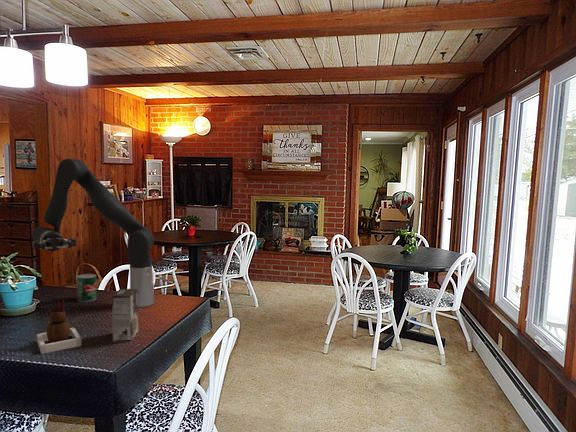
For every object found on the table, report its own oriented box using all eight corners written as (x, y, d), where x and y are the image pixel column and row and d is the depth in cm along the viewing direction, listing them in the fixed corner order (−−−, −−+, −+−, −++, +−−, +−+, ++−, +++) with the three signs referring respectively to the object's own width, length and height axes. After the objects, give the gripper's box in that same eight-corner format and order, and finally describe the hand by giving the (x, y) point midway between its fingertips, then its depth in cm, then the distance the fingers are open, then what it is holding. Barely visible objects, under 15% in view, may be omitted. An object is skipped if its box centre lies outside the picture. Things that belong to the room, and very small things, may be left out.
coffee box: (120, 331, 148) (120, 288, 146) (138, 331, 148) (138, 288, 147) (111, 341, 138) (111, 295, 137) (131, 341, 139) (130, 295, 138)
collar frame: (74, 334, 144) (74, 327, 144) (81, 345, 134) (81, 338, 134) (37, 341, 137) (36, 334, 137) (41, 354, 128) (41, 346, 127)
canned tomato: (90, 302, 182) (90, 278, 181) (73, 301, 182) (73, 277, 181) (100, 297, 189) (99, 274, 188) (83, 296, 190) (83, 273, 189)
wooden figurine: (73, 341, 138) (72, 298, 137) (59, 348, 132) (57, 303, 131) (58, 338, 140) (57, 296, 139) (43, 344, 135) (42, 300, 133)
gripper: (30, 232, 159) (34, 237, 147) (70, 230, 168) (78, 234, 155) (31, 251, 160) (35, 258, 147) (71, 248, 169) (79, 254, 156)
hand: (57, 246), depth 151 cm, fingers open, 8 cm apart
